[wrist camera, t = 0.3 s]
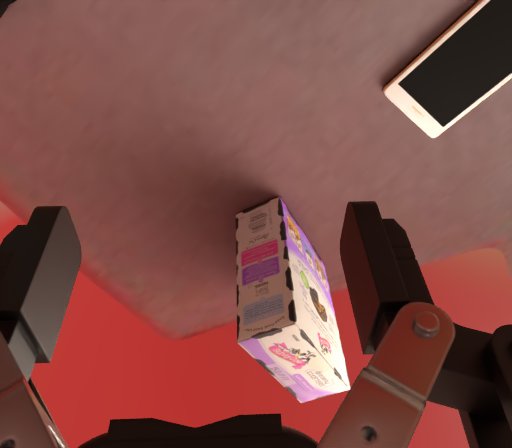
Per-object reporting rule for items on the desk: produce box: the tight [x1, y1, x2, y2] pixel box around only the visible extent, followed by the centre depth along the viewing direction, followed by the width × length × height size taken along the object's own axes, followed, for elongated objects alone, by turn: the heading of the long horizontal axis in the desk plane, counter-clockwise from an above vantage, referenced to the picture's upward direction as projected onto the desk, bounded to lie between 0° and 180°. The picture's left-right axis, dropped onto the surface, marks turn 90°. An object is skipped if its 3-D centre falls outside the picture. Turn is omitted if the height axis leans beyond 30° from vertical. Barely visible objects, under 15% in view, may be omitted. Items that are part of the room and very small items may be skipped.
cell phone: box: [383, 0, 512, 138], centre depth 39 cm, size 8×16×1 cm, turn 139°
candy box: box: [236, 196, 350, 403], centre depth 49 cm, size 14×6×16 cm, turn 27°
